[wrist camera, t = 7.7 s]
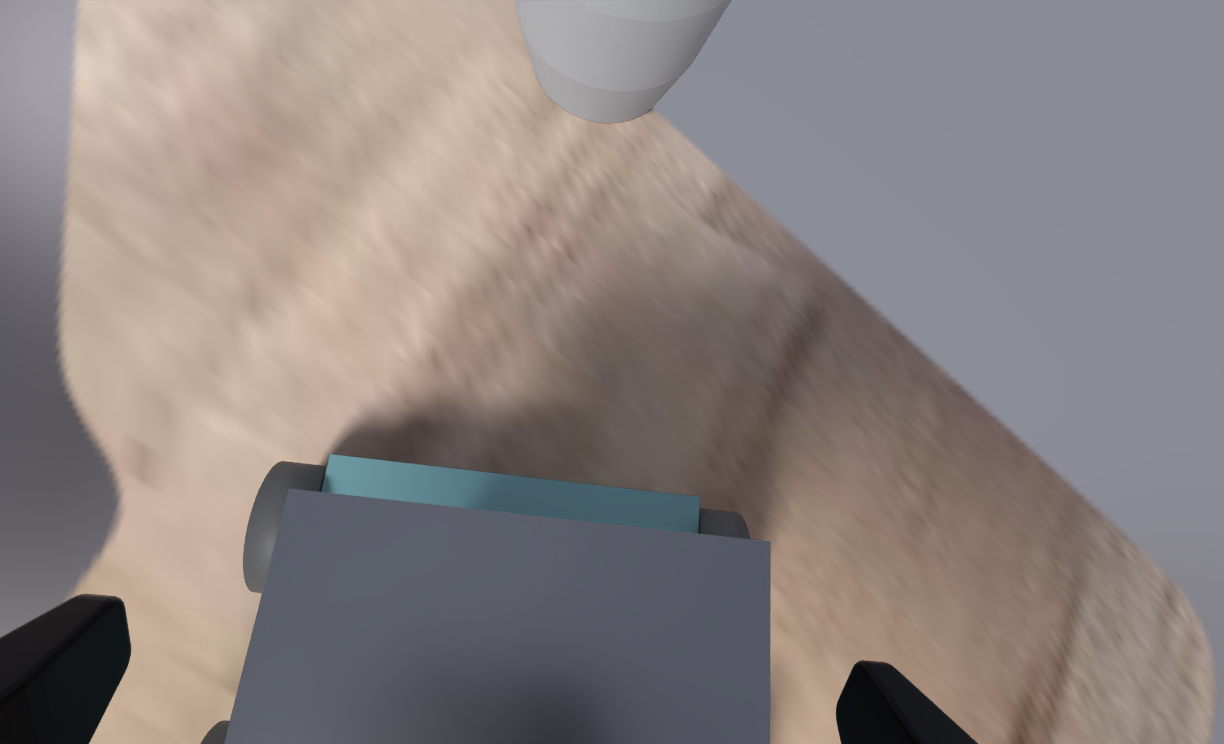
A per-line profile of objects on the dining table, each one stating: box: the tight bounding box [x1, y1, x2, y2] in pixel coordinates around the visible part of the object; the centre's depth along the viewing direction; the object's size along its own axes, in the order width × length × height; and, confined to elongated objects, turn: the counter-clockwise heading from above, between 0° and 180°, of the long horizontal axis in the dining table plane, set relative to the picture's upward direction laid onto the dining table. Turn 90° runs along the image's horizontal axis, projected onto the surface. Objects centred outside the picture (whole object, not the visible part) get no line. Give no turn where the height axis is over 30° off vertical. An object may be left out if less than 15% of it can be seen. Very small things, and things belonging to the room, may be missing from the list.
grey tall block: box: [224, 489, 770, 744], centre depth 12 cm, size 4×4×13 cm
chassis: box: [201, 454, 750, 744], centre depth 17 cm, size 10×12×3 cm
